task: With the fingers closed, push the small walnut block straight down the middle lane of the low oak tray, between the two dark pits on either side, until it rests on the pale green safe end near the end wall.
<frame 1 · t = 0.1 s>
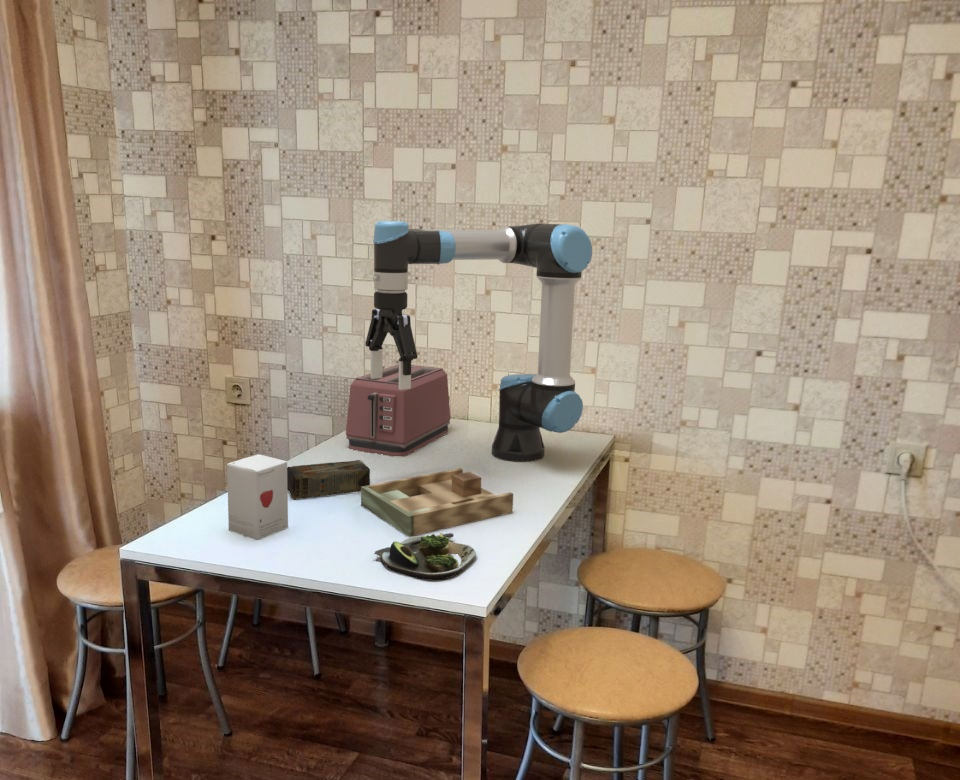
hand: (390, 383, 187), 28 cm above the table, tool pointing down, fingers open, 13 cm apart
salad plate: (426, 563, 159), on the table
beverage carton: (328, 492, 197), on the table
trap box: (433, 509, 186), on the table
supplement box: (259, 530, 172), on the table
toaster: (398, 441, 241), on the table
block: (466, 492, 191), point 2 cm above the table, touching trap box
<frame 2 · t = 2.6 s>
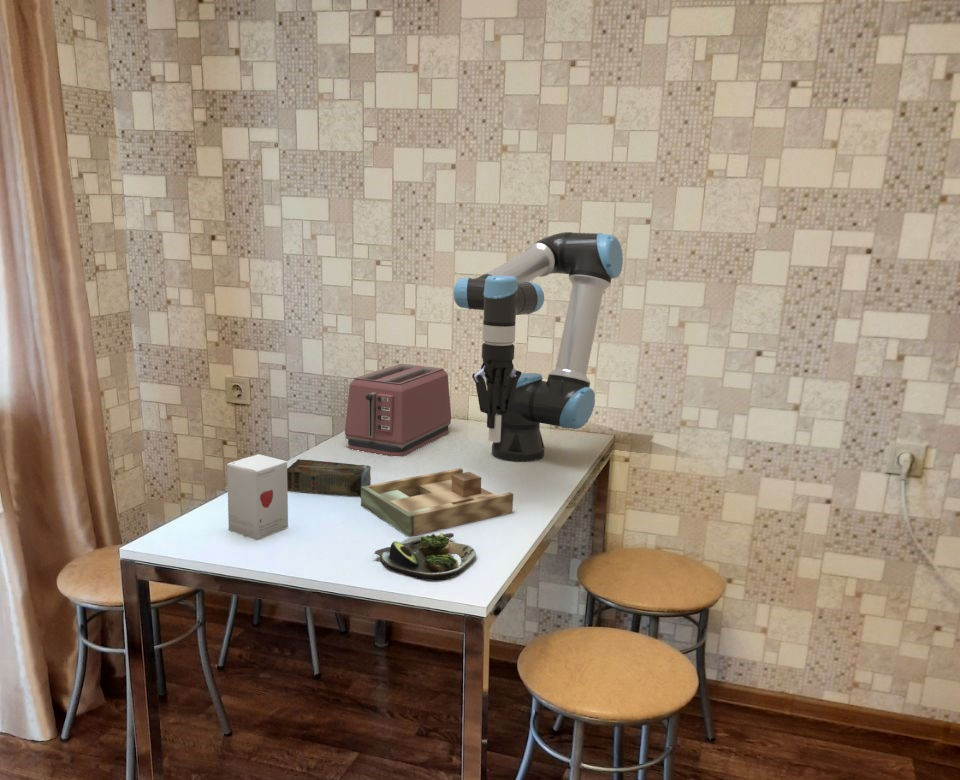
hand: (494, 440, 193), 14 cm above the table, tool pointing down, fingers closed
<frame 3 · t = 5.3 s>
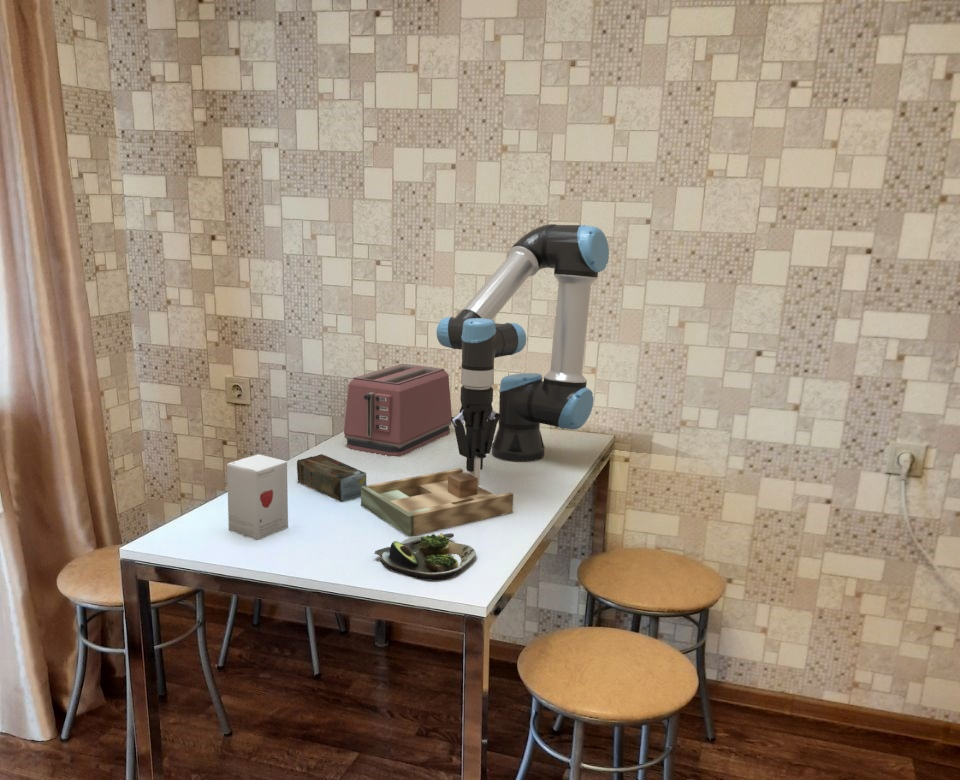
hand: (474, 483, 191), 4 cm above the table, tool pointing down, fingers closed
block: (462, 493, 190), point 3 cm above the table, touching gripper, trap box
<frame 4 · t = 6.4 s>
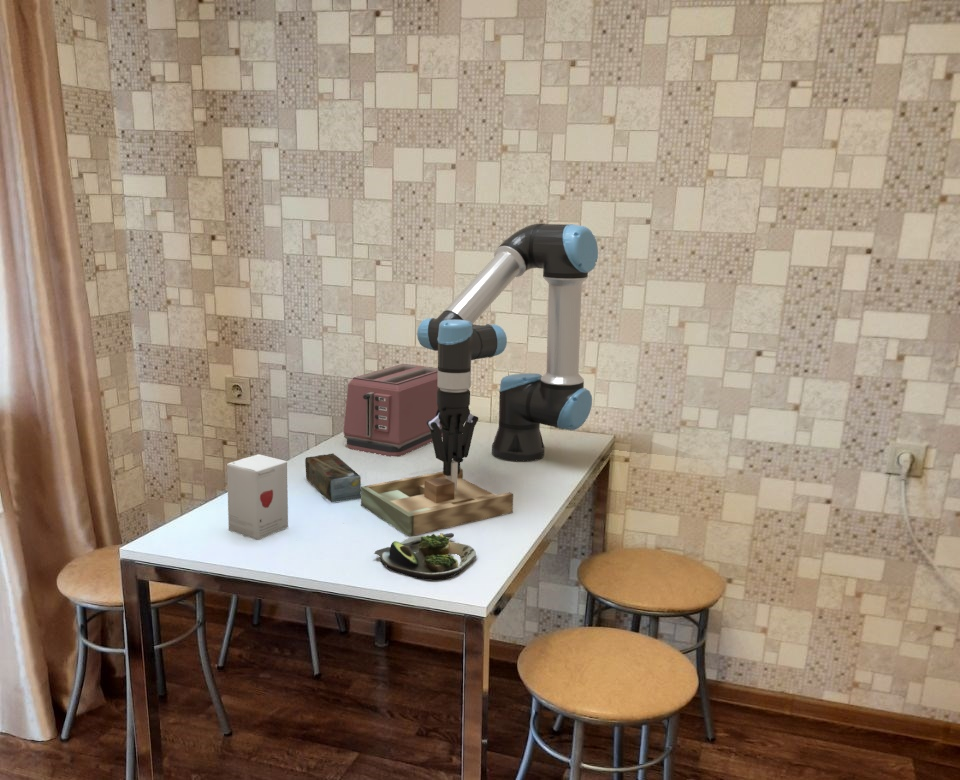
hand: (451, 487, 188), 4 cm above the table, tool pointing down, fingers closed
block: (439, 498, 186), point 3 cm above the table, touching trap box
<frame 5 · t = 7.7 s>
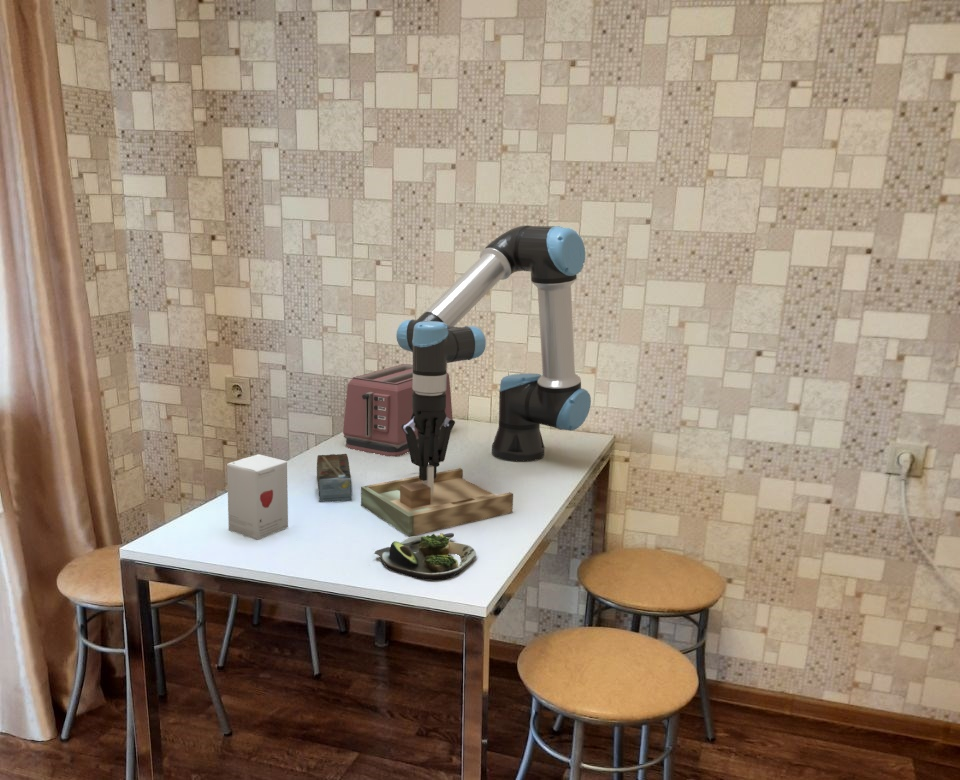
hand: (427, 492, 184), 4 cm above the table, tool pointing down, fingers closed
block: (415, 503, 183), point 2 cm above the table, touching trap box
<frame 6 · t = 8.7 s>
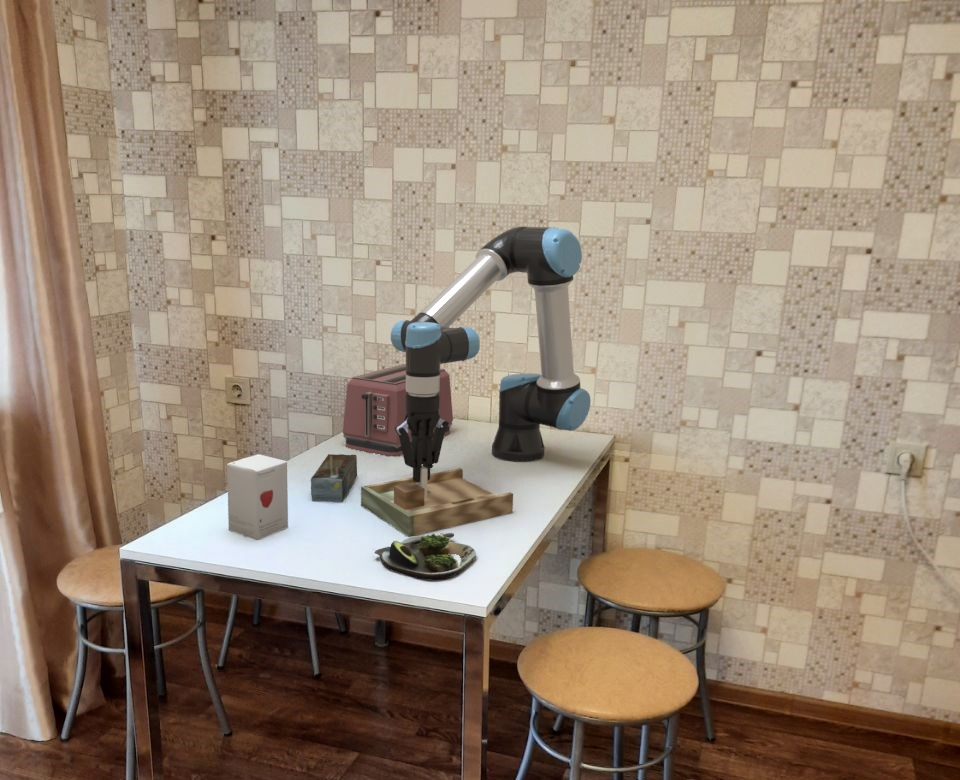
hand: (421, 494, 183), 4 cm above the table, tool pointing down, fingers closed
block: (408, 504, 182), point 2 cm above the table, touching gripper, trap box
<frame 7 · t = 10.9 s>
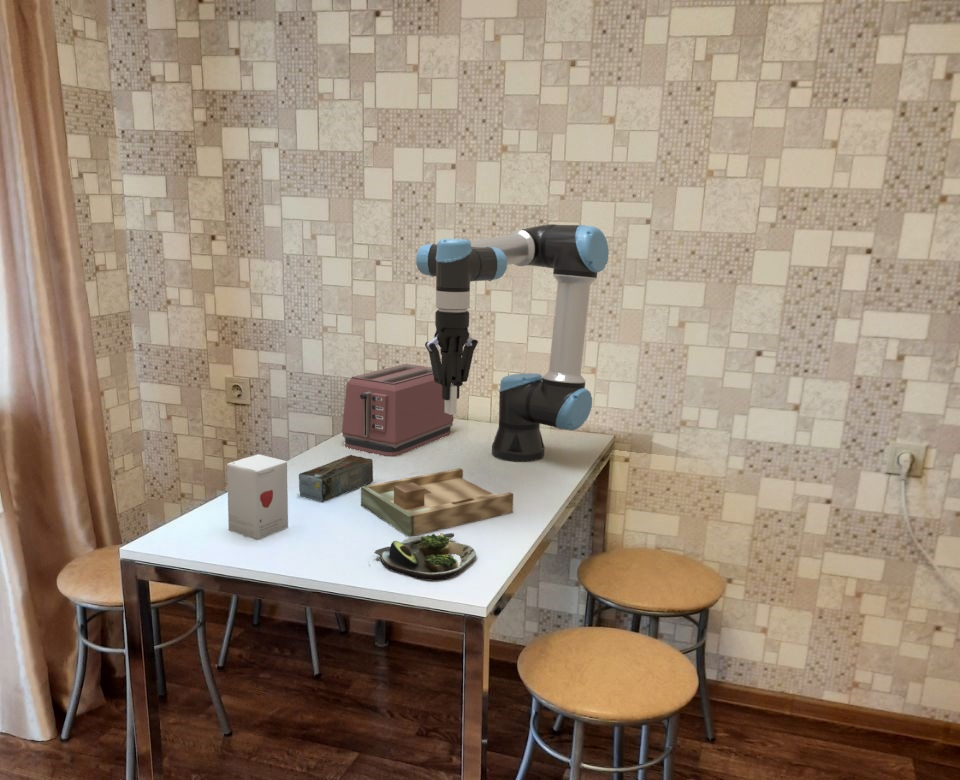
hand: (450, 413, 184), 22 cm above the table, tool pointing down, fingers closed
block: (408, 504, 182), point 2 cm above the table, touching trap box
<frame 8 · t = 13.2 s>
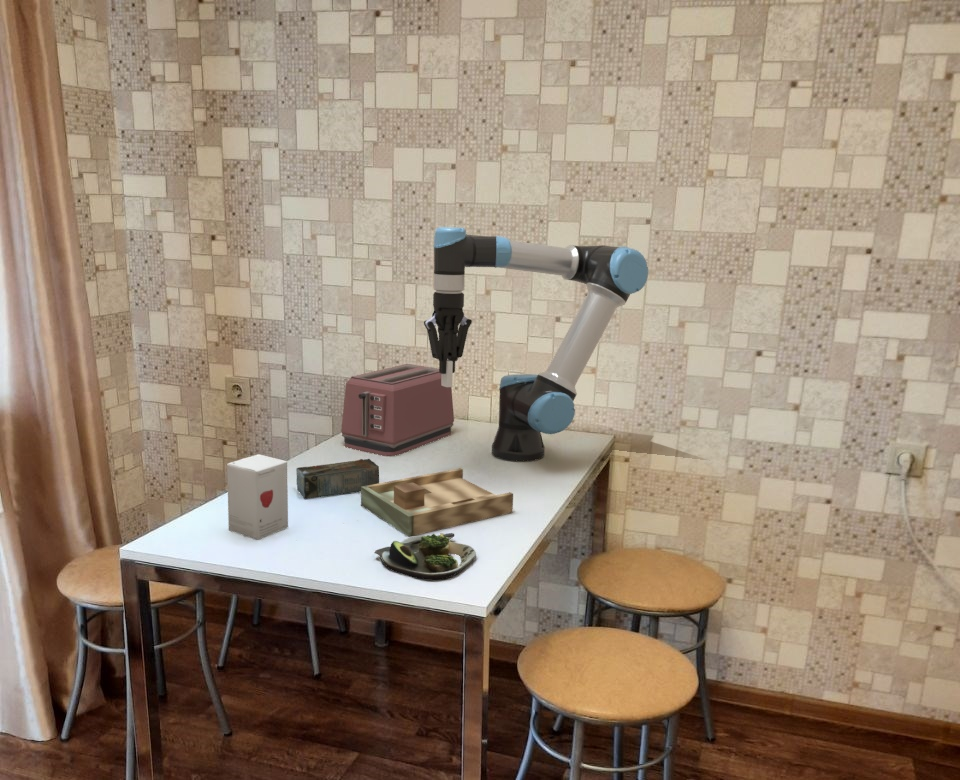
hand: (446, 386, 202), 24 cm above the table, tool pointing down, fingers closed
at the end: block inside the target area on the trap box (1.7 cm from its centre), point 2.5 cm above the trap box's base; block tilted 0° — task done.
